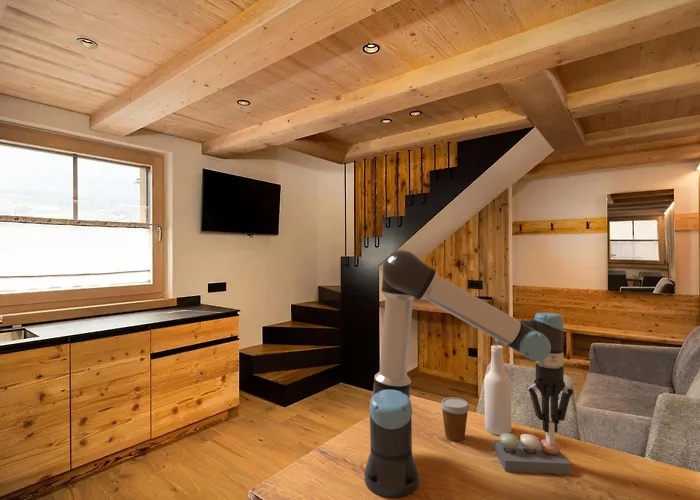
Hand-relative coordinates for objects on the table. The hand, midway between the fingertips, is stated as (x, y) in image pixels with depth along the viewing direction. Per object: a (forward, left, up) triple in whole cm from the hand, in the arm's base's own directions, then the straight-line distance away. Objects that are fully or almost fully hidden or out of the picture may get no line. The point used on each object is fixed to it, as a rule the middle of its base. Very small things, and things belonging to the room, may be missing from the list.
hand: (550, 442), depth 114 cm
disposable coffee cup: (-26, +13, -6) cm, 30 cm away
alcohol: (-10, +19, -6) cm, 22 cm away
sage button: (-12, 0, -4) cm, 13 cm away
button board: (-6, 0, -6) cm, 8 cm away
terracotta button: (0, 0, -5) cm, 5 cm away
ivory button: (-6, 0, -4) cm, 7 cm away
